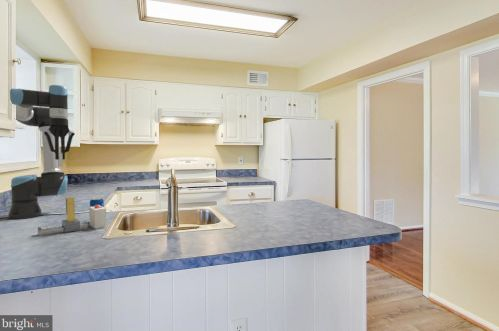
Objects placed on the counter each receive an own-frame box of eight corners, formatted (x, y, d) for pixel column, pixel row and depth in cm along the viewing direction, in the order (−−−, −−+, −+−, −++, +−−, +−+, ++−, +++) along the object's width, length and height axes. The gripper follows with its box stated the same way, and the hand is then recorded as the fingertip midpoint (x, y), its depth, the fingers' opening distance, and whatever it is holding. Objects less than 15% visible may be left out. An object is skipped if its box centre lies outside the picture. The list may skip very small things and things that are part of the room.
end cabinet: (89, 224, 147) (89, 206, 147) (100, 223, 151) (100, 205, 150) (95, 228, 140) (94, 209, 140) (106, 226, 143) (106, 208, 143)
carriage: (61, 228, 139) (60, 197, 138) (76, 226, 143) (75, 195, 142) (65, 232, 133) (64, 199, 132) (80, 229, 137) (79, 197, 136)
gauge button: (94, 221, 145) (93, 205, 145) (99, 220, 147) (99, 204, 147) (95, 222, 143) (95, 205, 143) (101, 221, 145) (101, 205, 145)
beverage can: (98, 223, 151) (97, 199, 151) (87, 222, 153) (86, 199, 152) (106, 220, 158) (106, 197, 157) (96, 219, 159) (95, 197, 159)
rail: (37, 234, 131) (37, 227, 130) (85, 227, 143) (85, 220, 143) (38, 235, 128) (38, 228, 128) (87, 228, 141) (87, 221, 141)
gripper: (44, 116, 137) (45, 167, 138) (76, 118, 146) (77, 166, 147) (41, 117, 142) (43, 166, 144) (72, 119, 151) (73, 165, 153)
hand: (60, 166), depth 145 cm, fingers closed
